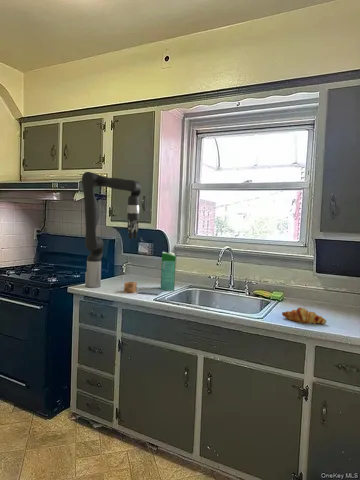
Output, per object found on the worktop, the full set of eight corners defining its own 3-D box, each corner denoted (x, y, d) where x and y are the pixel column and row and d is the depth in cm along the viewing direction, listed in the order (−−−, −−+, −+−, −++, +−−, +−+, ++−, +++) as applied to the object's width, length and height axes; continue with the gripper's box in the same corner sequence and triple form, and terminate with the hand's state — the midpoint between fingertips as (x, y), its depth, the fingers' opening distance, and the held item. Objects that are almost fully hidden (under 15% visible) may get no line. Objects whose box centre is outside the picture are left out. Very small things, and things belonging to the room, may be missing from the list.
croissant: (325, 330, 177) (327, 314, 179) (326, 325, 168) (327, 309, 171) (281, 322, 185) (284, 307, 188) (280, 317, 176) (282, 302, 179)
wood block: (124, 292, 224) (124, 283, 223) (127, 290, 230) (127, 281, 229) (133, 293, 223) (133, 284, 222) (136, 291, 228) (136, 282, 228)
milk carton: (174, 290, 235) (175, 253, 233) (160, 290, 235) (162, 252, 233) (174, 287, 244) (175, 251, 242) (161, 287, 244) (162, 251, 242)
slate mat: (138, 293, 222) (138, 291, 222) (144, 289, 235) (144, 287, 235) (158, 295, 220) (158, 293, 220) (163, 291, 233) (163, 289, 233)
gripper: (131, 212, 232) (130, 237, 233) (123, 212, 218) (123, 238, 220) (142, 212, 231) (141, 237, 232) (135, 212, 217) (134, 239, 218)
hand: (132, 238), depth 226 cm, fingers open, 8 cm apart
